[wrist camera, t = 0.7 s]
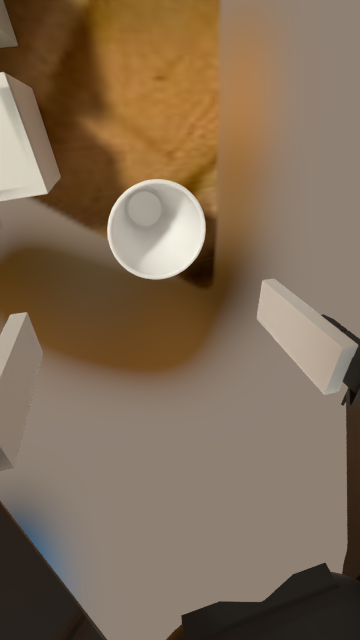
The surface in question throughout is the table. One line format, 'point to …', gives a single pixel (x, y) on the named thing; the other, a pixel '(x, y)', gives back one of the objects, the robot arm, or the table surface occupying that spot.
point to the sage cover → (6, 28)
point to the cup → (156, 229)
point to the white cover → (23, 144)
